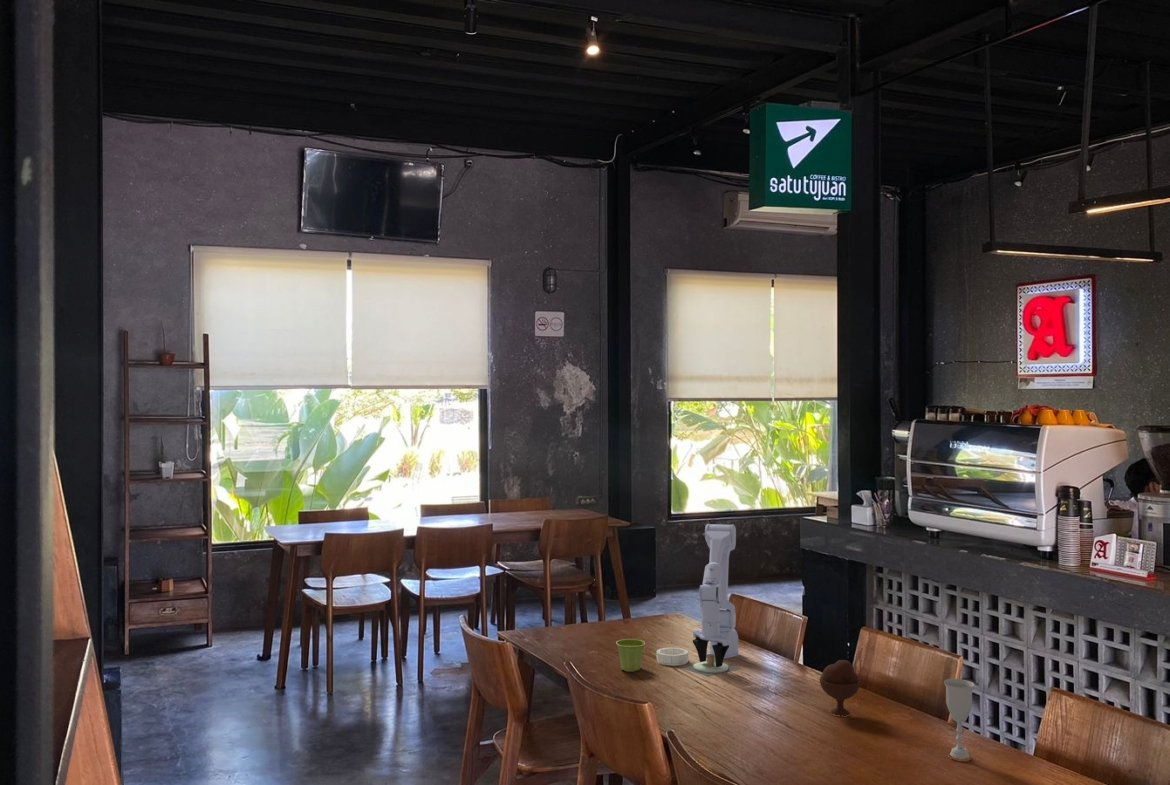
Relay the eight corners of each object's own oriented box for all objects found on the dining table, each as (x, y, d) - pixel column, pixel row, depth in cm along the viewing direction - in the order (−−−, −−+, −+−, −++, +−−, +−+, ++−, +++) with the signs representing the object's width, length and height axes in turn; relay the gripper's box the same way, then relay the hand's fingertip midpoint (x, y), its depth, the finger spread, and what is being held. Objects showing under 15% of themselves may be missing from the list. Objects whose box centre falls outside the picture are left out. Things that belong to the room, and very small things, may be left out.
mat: (713, 662, 326) (713, 660, 326) (740, 669, 316) (740, 668, 316) (681, 669, 318) (681, 668, 318) (708, 677, 308) (708, 676, 308)
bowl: (673, 656, 333) (673, 646, 333) (694, 663, 325) (694, 652, 325) (650, 661, 327) (650, 650, 327) (671, 668, 319) (670, 657, 319)
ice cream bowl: (861, 709, 275) (861, 655, 275) (859, 722, 265) (858, 666, 265) (822, 706, 279) (822, 652, 279) (818, 718, 268) (817, 662, 268)
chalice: (939, 753, 241) (938, 679, 241) (966, 752, 242) (965, 678, 242) (952, 764, 234) (952, 688, 234) (980, 763, 235) (979, 687, 235)
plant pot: (645, 665, 322) (645, 639, 322) (644, 674, 313) (644, 646, 313) (617, 665, 323) (616, 638, 323) (615, 673, 314) (614, 645, 314)
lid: (711, 662, 325) (711, 648, 325) (735, 669, 316) (735, 655, 316) (686, 667, 318) (686, 654, 318) (710, 675, 309) (710, 661, 309)
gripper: (685, 619, 320) (686, 661, 320) (717, 627, 309) (717, 671, 309) (701, 616, 325) (702, 657, 325) (733, 624, 313) (734, 667, 313)
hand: (710, 663), depth 317 cm, fingers open, 7 cm apart
